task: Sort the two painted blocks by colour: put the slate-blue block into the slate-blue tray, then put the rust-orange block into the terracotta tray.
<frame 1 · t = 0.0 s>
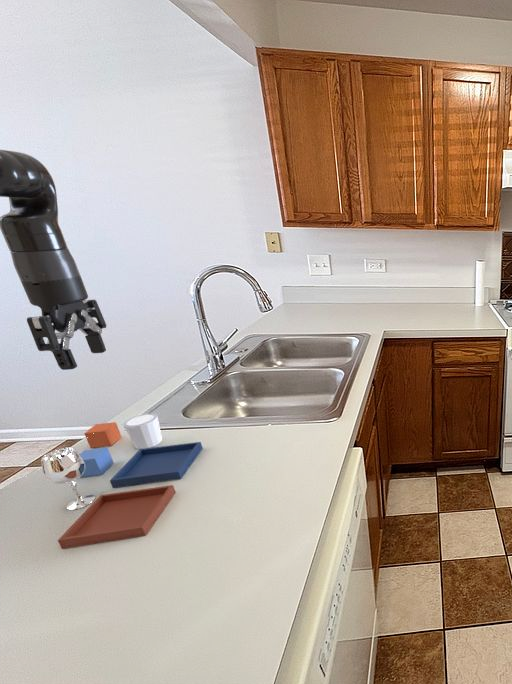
hand: (85, 360, 76), 30 cm above the table, tool pointing down, fingers open, 8 cm apart
rust block: (106, 442, 103), on the table
terracotta tray: (123, 518, 78), on the table
wineglass: (81, 503, 83), on the table
white faceted cylinder: (149, 443, 103), on the table
blue block: (96, 470, 92), on the table
blue tray: (161, 466, 93), on the table
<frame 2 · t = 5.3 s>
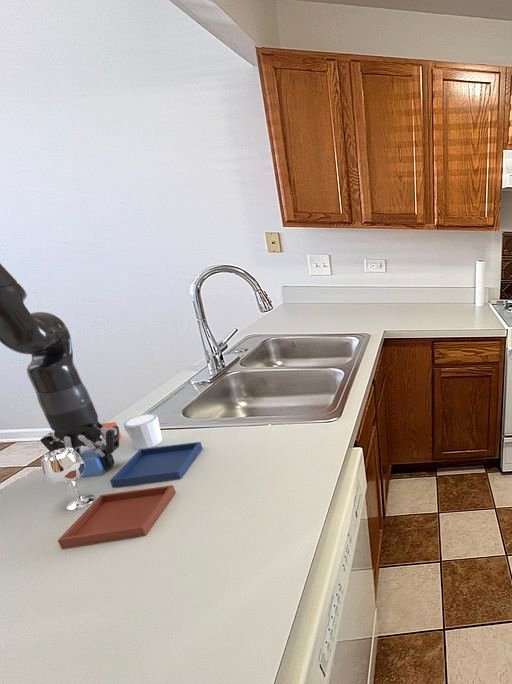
hand: (96, 469, 92), 0 cm above the table, tool pointing down, fingers closed on blue block, 4 cm apart
blue block: (96, 470, 92), on the table, touching gripper
everything else where it was.
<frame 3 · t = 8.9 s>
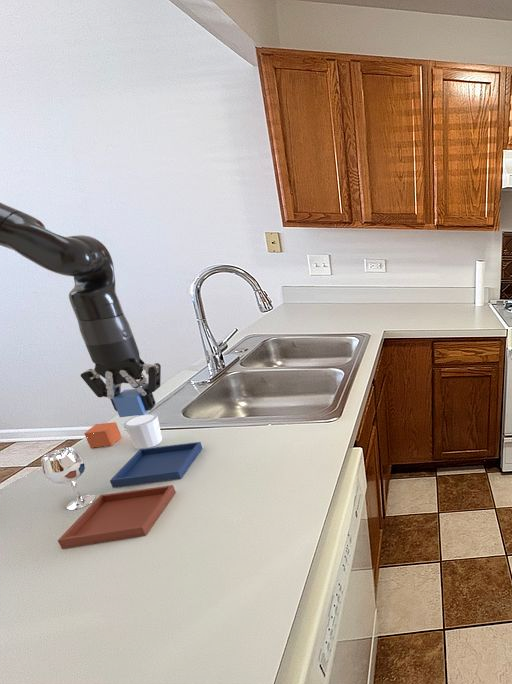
hand: (136, 409, 88), 15 cm above the table, tool pointing down, fingers closed on blue block, 4 cm apart
blue block: (137, 411, 88), point 15 cm above the table, touching gripper
everything else where it was.
when the fingers open (1 cm above the table, at t = 12.5 s): blue block stays where it is, resting on blue tray.
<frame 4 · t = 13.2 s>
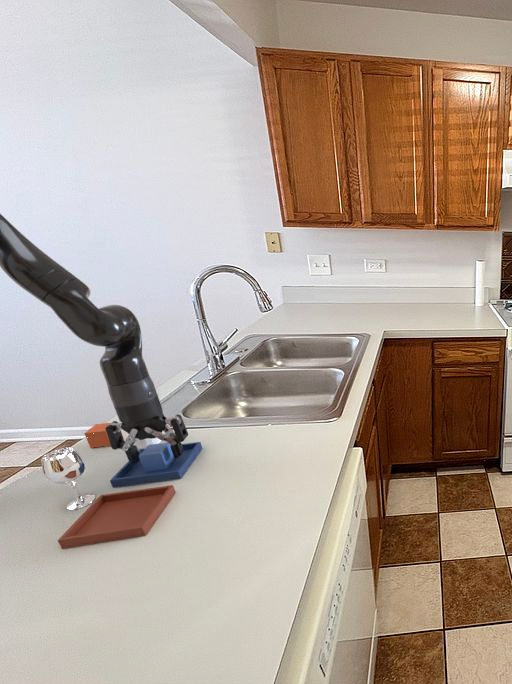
hand: (157, 458, 93), 2 cm above the table, tool pointing down, fingers open, 8 cm apart
blue block: (160, 464, 93), resting on blue tray
everything else where it was.
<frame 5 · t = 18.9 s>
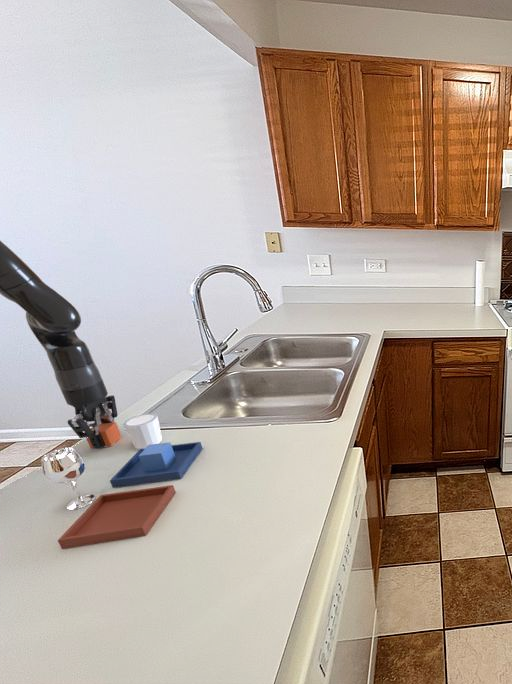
hand: (106, 441, 103), 0 cm above the table, tool pointing down, fingers closed on rust block, 4 cm apart
rust block: (106, 442, 103), on the table, touching gripper
everything else where it was.
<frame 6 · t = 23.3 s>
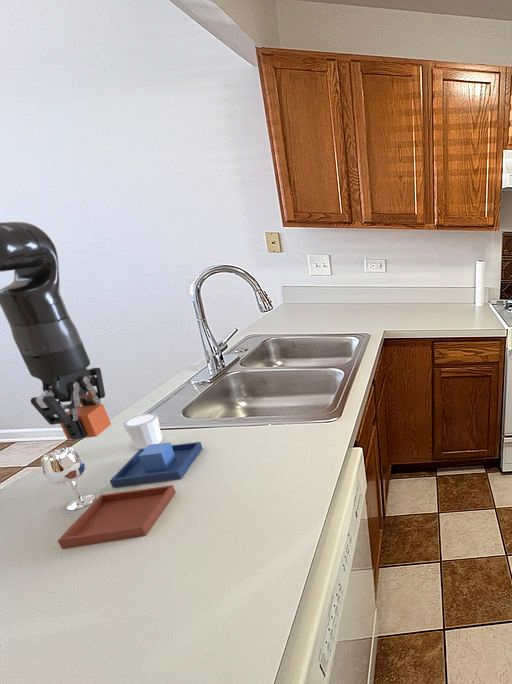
hand: (89, 430, 74), 18 cm above the table, tool pointing down, fingers closed on rust block, 4 cm apart
rust block: (90, 431, 74), point 18 cm above the table, touching gripper
everything else where it was.
when the fingers open (1 cm above the table, at t = 27.9 s): rust block stays where it is, resting on terracotta tray.
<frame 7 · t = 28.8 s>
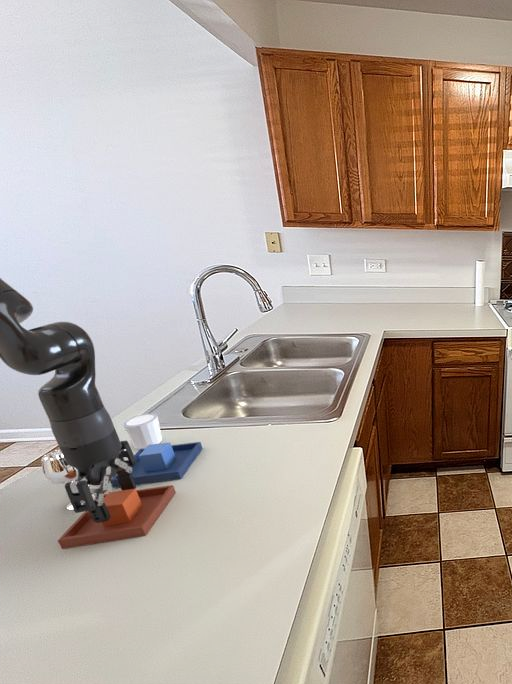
hand: (117, 504, 77), 3 cm above the table, tool pointing down, fingers open, 8 cm apart
rust block: (123, 515, 78), resting on terracotta tray
everything else where it was.
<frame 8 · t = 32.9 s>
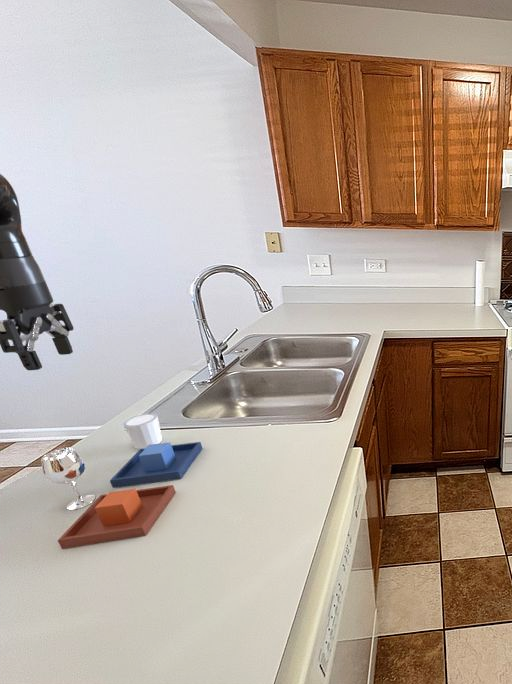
hand: (51, 361, 80), 28 cm above the table, tool pointing down, fingers open, 8 cm apart
nothing on the table moved.
at the end: blue block inside the target area in the blue tray (0.1 cm from its centre), point 0.5 cm above the blue tray's base; rust block inside the target area in the terracotta tray (0.1 cm from its centre), point 0.5 cm above the terracotta tray's base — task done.
